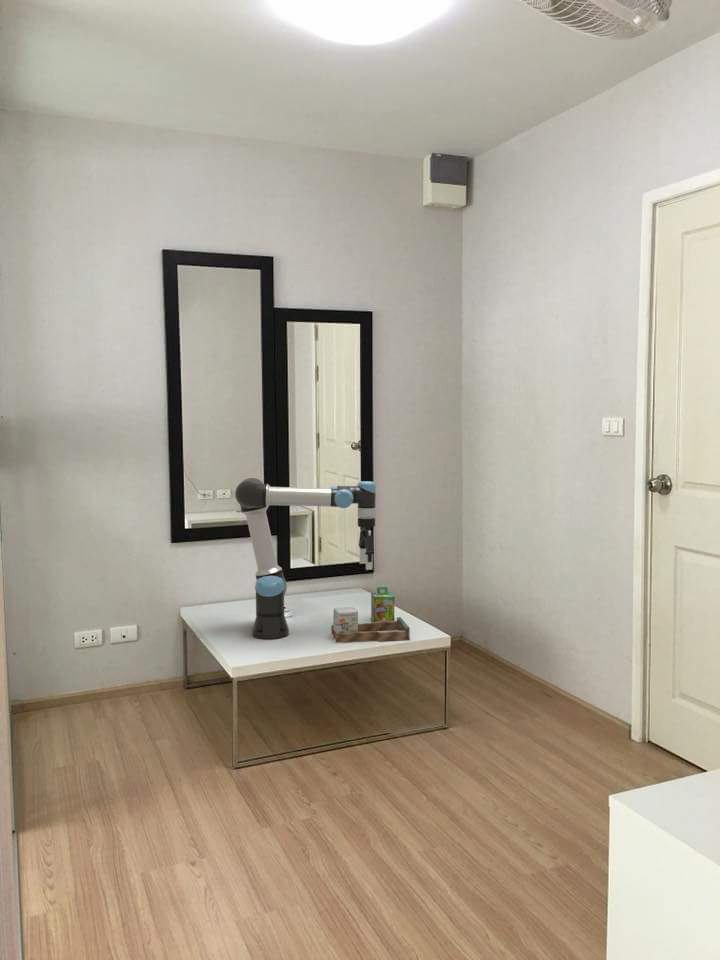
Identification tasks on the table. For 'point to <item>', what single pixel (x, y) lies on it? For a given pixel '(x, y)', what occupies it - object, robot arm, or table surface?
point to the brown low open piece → (370, 632)
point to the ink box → (345, 620)
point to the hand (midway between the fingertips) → (365, 566)
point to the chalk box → (382, 606)
